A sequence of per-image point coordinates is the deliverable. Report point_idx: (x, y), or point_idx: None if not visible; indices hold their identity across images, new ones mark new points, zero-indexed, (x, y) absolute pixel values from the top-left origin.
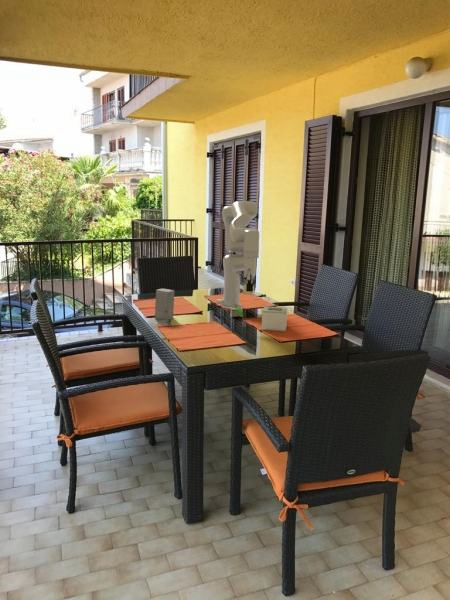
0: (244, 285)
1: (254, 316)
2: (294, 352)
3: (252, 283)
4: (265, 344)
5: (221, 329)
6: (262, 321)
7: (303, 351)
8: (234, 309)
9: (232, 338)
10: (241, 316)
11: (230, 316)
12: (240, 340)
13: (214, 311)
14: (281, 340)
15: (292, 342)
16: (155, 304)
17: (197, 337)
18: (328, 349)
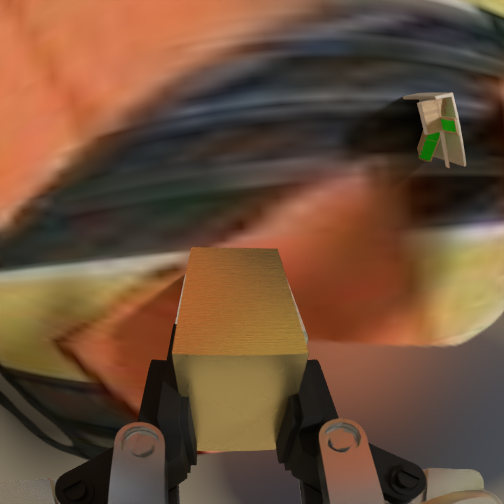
0: (176, 354)
1: (428, 217)
2: (9, 366)
3: (278, 452)
4: (15, 299)
5: (138, 67)
6: (180, 301)
7: (28, 385)
8: (420, 113)
9: (19, 165)
10: (419, 152)
11: (417, 93)
12: (10, 205)
13: (475, 30)
14: (77, 347)
15: (77, 373)
16: None
17: (8, 25)
18: (76, 429)
